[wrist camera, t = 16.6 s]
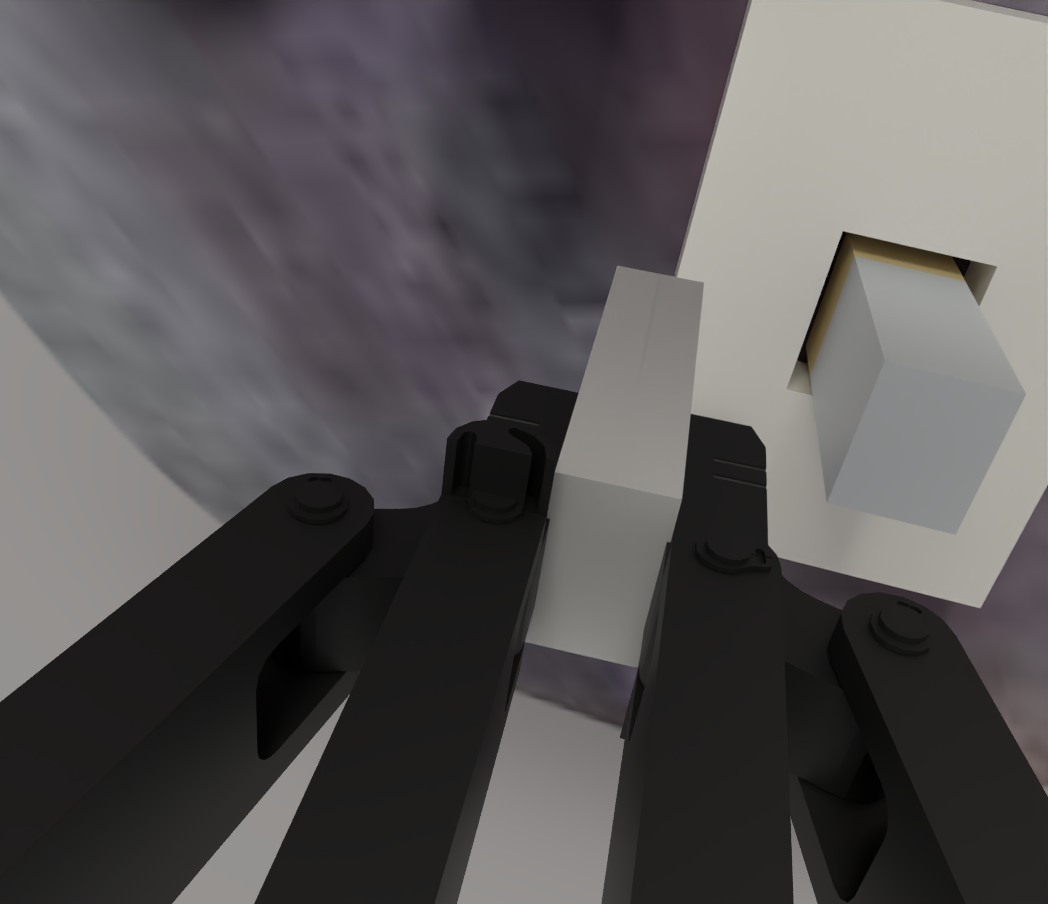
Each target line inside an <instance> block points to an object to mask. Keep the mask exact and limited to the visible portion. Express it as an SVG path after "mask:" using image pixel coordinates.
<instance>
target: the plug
mask: <svg viewBox="0 0 1048 904" xmlns="http://www.w3.org/2000/svg"><path fill="white" fill-rule="evenodd" d="M806 352H807V359H808V367H809V374H810V381H811V389H812V396H813V404H814V411H815V418H816V426H817V433H818V441H819V448H820V455H821V463H822V470H823V478H824V485H825V492H826V500H827V503H829V504H833V505H837V506H841V507H845V508H849V509H853V510H857V511H861V512H866V513H870V514H874V515H878V516H882V517H886V518H890V519H894V520H898V521H902V522H906V523H910V524H914V525H918V526H922V527H926V528H930V529H934V530H938V531H942V532H946V533H950V534H954V535H956V533H957V531H958V529H959V527H960V525H961V523H962V521H963V519H964V517H965V515H966V513H967V511H968V509H969V507H970V505H971V503H972V501H973V499H974V497H975V495H976V493H977V491H978V489H979V487H980V485H981V483H982V481H983V479H984V477H985V475H986V473H987V471H988V469H989V467H990V465H991V463H992V461H993V459H994V457H995V455H996V453H997V451H998V449H999V447H1000V445H1001V443H1002V442H1003V440H1004V438H1005V436H1006V434H1007V432H1008V430H1009V428H1010V426H1011V424H1012V422H1013V420H1014V418H1015V416H1016V414H1017V412H1018V410H1019V408H1020V406H1021V404H1022V402H1023V400H1024V398H1025V396H1026V393H1025V391H1024V389H1023V387H1022V385H1021V383H1020V382H1019V380H1018V378H1017V376H1016V374H1015V372H1014V370H1013V369H1012V367H1011V365H1010V363H1009V361H1008V359H1007V357H1006V356H1005V354H1004V352H1003V350H1002V348H1001V346H1000V345H999V343H998V341H997V339H996V337H995V335H994V333H993V332H992V330H991V328H990V326H989V324H988V322H987V320H986V319H985V317H984V315H983V313H982V311H981V309H980V307H979V306H978V304H977V302H976V300H975V298H974V296H973V294H972V293H971V291H970V289H969V287H968V285H967V283H966V281H965V280H964V278H963V276H962V274H961V272H960V270H959V269H958V267H957V265H956V263H955V261H954V259H953V257H952V256H949V255H945V254H941V253H936V252H932V251H928V250H923V249H919V248H915V247H910V246H906V245H901V244H897V243H893V242H888V241H884V240H880V239H875V238H871V237H867V236H862V235H858V234H853V233H849V232H846V234H845V237H844V240H843V243H842V245H841V248H840V251H839V254H838V257H837V259H836V262H835V265H834V268H833V271H832V273H831V276H830V279H829V282H828V285H827V287H826V290H825V293H824V296H823V299H822V301H821V304H820V307H819V310H818V312H817V315H816V318H815V321H814V324H813V326H812V329H811V332H810V335H809V338H808V340H807V343H806Z"/></svg>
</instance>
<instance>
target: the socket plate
mask: <svg viewBox="0 0 1048 904" xmlns="http://www.w3.org/2000/svg"><path fill="white" fill-rule="evenodd" d="M843 231H845V232H849V233H853V234H858V235H862V236H867V237H871V238H875V239H880V240H884V241H888V242H893V243H897V244H901V245H906V246H910V247H915V248H919V249H923V250H928V251H932V252H936V253H941V254H945V255H949V256H954V257H958V258H963V259H967V260H971V262H970V264H969V266H968V269H967V271H966V273H965V276H964V280H965V281H966V283H967V285H968V287H969V289H970V291H971V293H972V294H973V296H974V298H975V300H976V302H977V304H978V306H979V307H980V309H981V311H982V313H983V315H984V317H985V319H986V320H987V322H988V324H989V326H990V328H991V330H992V332H993V333H994V335H995V337H996V339H997V341H998V343H999V345H1000V346H1001V348H1002V350H1003V352H1004V354H1005V356H1006V357H1007V359H1008V361H1009V363H1010V365H1011V367H1012V369H1013V370H1014V372H1015V374H1016V376H1017V378H1018V380H1019V382H1020V383H1021V385H1022V387H1023V389H1024V391H1025V393H1026V396H1025V398H1024V400H1023V402H1022V404H1021V406H1020V408H1019V410H1018V412H1017V414H1016V416H1015V418H1014V420H1013V422H1012V424H1011V426H1010V428H1009V430H1008V432H1007V434H1006V436H1005V438H1004V440H1003V442H1002V443H1001V445H1000V447H999V449H998V451H997V453H996V455H995V457H994V459H993V461H992V463H991V465H990V467H989V469H988V471H987V473H986V475H985V477H984V479H983V481H982V483H981V485H980V487H979V489H978V491H977V493H976V495H975V497H974V499H973V501H972V503H971V505H970V507H969V509H968V511H967V513H966V515H965V517H964V519H963V521H962V523H961V525H960V527H959V529H958V531H957V533H956V535H954V534H950V533H946V532H942V531H938V530H934V529H930V528H926V527H922V526H918V525H914V524H910V523H906V522H902V521H898V520H894V519H890V518H886V517H882V516H878V515H874V514H870V513H866V512H861V511H857V510H853V509H849V508H845V507H841V506H837V505H833V504H829V503H827V500H826V492H825V485H824V478H823V470H822V463H821V455H820V448H819V441H818V433H817V426H816V418H815V411H814V404H813V396H812V389H811V381H810V374H809V367H808V363H805V362H801V361H797V358H798V356H799V353H800V350H801V347H802V344H803V342H804V339H805V336H806V333H807V330H808V328H809V325H810V322H811V319H812V316H813V314H814V311H815V308H816V305H817V302H818V299H819V297H820V294H821V291H822V288H823V285H824V283H825V280H826V277H827V274H828V271H829V269H830V266H831V263H832V260H833V257H834V255H835V252H836V249H837V246H838V243H839V240H840V238H841V235H842V232H843ZM674 277H678V278H683V279H688V280H693V281H699V282H704V289H703V299H702V308H701V318H700V328H699V338H698V347H697V357H696V367H695V377H694V387H693V396H692V406H691V414H694V415H699V416H704V417H709V418H714V419H718V420H723V421H728V422H733V423H738V424H742V425H747V426H752V428H753V429H754V431H755V432H756V434H757V435H758V437H759V438H760V440H761V441H762V443H763V444H764V445H765V447H766V473H767V486H766V489H767V514H768V545H769V546H770V548H771V549H772V550H773V551H774V552H775V553H776V554H777V557H779V558H783V559H787V560H791V561H795V562H799V563H803V564H807V565H811V566H815V567H819V568H823V569H826V570H830V571H834V572H838V573H842V574H846V575H850V576H854V577H858V578H862V579H866V580H870V581H874V582H878V583H882V584H886V585H890V586H894V587H898V588H902V589H906V590H910V591H914V592H918V593H922V594H926V595H930V596H933V597H937V598H941V599H945V600H949V601H953V602H957V603H961V604H965V605H969V606H973V607H977V608H981V606H982V605H983V603H984V601H985V599H986V597H987V595H988V593H989V592H990V590H991V588H992V586H993V584H994V582H995V581H996V579H997V577H998V575H999V573H1000V571H1001V570H1002V568H1003V566H1004V564H1005V562H1006V560H1007V559H1008V557H1009V555H1010V553H1011V551H1012V549H1013V548H1014V546H1015V544H1016V542H1017V540H1018V538H1019V537H1020V535H1021V533H1022V531H1023V529H1024V527H1025V526H1026V524H1027V522H1028V520H1029V518H1030V516H1031V515H1032V513H1033V511H1034V509H1035V507H1036V505H1037V504H1038V502H1039V500H1040V498H1041V496H1042V494H1043V493H1044V491H1045V489H1046V487H1047V485H1048V17H1047V16H1043V15H1038V14H1033V13H1029V12H1024V11H1019V10H1014V9H1010V8H1005V7H1000V6H995V5H991V4H986V3H981V2H977V1H972V0H748V4H747V8H746V11H745V15H744V19H743V23H742V26H741V30H740V34H739V37H738V41H737V45H736V49H735V52H734V56H733V60H732V63H731V67H730V71H729V74H728V78H727V82H726V86H725V89H724V93H723V97H722V100H721V104H720V108H719V112H718V115H717V119H716V123H715V126H714V130H713V134H712V137H711V141H710V145H709V149H708V152H707V156H706V160H705V163H704V167H703V171H702V175H701V178H700V182H699V186H698V189H697V193H696V197H695V200H694V204H693V208H692V212H691V215H690V219H689V223H688V226H687V230H686V234H685V238H684V241H683V245H682V249H681V252H680V256H679V260H678V263H677V267H676V271H675V275H674Z"/></svg>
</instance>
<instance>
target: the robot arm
mask: <svg viewBox="0 0 1048 904" xmlns="http://www.w3.org/2000/svg"><path fill="white" fill-rule="evenodd" d="M703 289H704V282H699V281H693V280H688V279H683V278H678V277H673V276H668V275H663V274H658V273H653V272H647V271H642V270H637V269H632V268H627V267H622V266H617V268H616V272H615V275H614V278H613V282H612V285H611V288H610V292H609V295H608V298H607V301H606V305H605V308H604V311H603V315H602V318H601V321H600V325H599V328H598V331H597V334H596V338H595V341H594V344H593V348H592V351H591V354H590V358H589V361H588V364H587V367H586V371H585V374H584V377H583V381H582V384H581V387H580V391H579V393H577V392H572V391H567V390H562V389H558V388H553V387H548V386H543V385H538V384H534V383H529V382H524V381H517V382H516V383H514V384H513V385H511V386H510V387H508V388H507V389H505V390H504V391H502V392H500V393H499V394H498V396H497V398H496V400H495V403H494V405H493V407H492V409H491V412H490V416H488V418H487V420H482V421H473V422H470V423H468V424H465V425H463V426H460V427H458V428H456V429H455V430H454V431H453V432H452V433H451V434H450V436H449V437H448V438H447V446H446V456H445V465H444V475H443V485H442V494H441V496H440V499H439V501H438V502H435V503H433V504H431V505H426V506H422V507H418V508H407V509H374V499H373V498H372V496H371V495H370V494H369V492H368V491H367V490H366V488H365V487H363V486H361V485H360V484H358V483H356V482H355V481H353V480H351V479H349V478H345V477H341V476H337V475H333V474H320V473H308V474H303V475H299V476H294V477H289V478H287V479H285V480H283V481H281V482H279V483H278V484H276V485H274V486H272V487H271V488H269V489H268V490H267V491H266V492H264V493H263V494H262V495H261V496H259V497H258V498H257V499H256V500H254V501H253V502H252V503H251V504H249V505H248V506H247V507H246V508H244V509H243V510H242V511H240V512H239V513H238V514H237V515H235V516H234V517H233V518H232V519H230V520H229V521H228V522H227V523H225V524H224V525H223V526H222V527H220V528H219V529H218V530H217V531H215V532H214V533H213V534H211V535H210V536H209V537H208V538H206V539H205V540H204V541H203V542H201V543H200V544H199V545H198V546H196V547H195V548H194V549H193V550H191V551H190V552H189V553H188V554H186V555H185V556H184V557H182V558H181V559H180V560H179V561H177V562H176V563H175V564H174V565H172V566H171V567H170V568H169V569H168V570H166V571H165V572H164V573H162V574H161V575H160V576H159V577H158V578H156V579H155V580H154V581H152V582H151V583H150V584H149V585H147V586H146V587H145V588H143V589H142V590H141V591H140V592H138V593H137V594H136V595H135V596H133V597H132V598H131V599H130V600H128V601H127V602H126V603H125V604H123V605H122V606H121V607H120V608H118V609H117V610H116V611H115V612H113V613H112V614H111V615H109V616H108V617H107V618H106V619H104V620H103V621H102V622H101V623H99V624H98V625H97V626H96V627H94V628H93V629H92V630H91V631H89V632H88V633H87V634H85V635H84V636H83V637H82V638H80V639H79V640H78V641H77V642H75V643H74V644H73V645H72V646H70V647H69V648H68V649H67V650H65V651H64V652H63V653H62V654H60V655H59V656H58V657H56V658H55V659H54V660H53V661H51V662H50V663H49V664H48V665H46V666H45V667H44V668H43V669H41V670H40V671H39V672H38V673H36V674H35V675H34V676H33V677H31V678H30V679H29V680H27V681H26V682H25V683H24V684H23V685H21V686H20V687H19V688H17V689H16V690H15V691H14V692H13V693H11V694H10V695H9V696H7V697H6V698H5V699H4V700H2V701H1V702H0V904H172V903H173V902H174V901H175V899H176V898H177V897H178V896H179V895H180V894H181V892H182V891H183V890H184V889H185V887H186V886H187V885H188V884H189V883H190V882H191V881H192V879H193V878H194V877H195V876H196V874H198V872H199V871H200V870H201V869H202V868H203V866H204V865H205V864H206V863H207V861H208V860H209V859H210V858H211V857H212V856H213V855H214V853H215V852H216V851H217V850H218V849H219V848H220V846H221V845H222V844H223V843H224V842H225V840H226V839H227V838H228V837H229V836H230V835H231V833H232V832H233V831H234V830H235V829H236V828H237V826H238V825H239V824H240V823H241V821H242V820H243V819H244V818H245V817H246V816H247V815H248V813H249V812H250V811H251V810H252V809H253V807H254V806H255V805H256V804H257V803H258V801H259V800H260V799H261V798H262V797H263V795H264V794H265V793H266V792H267V791H268V790H269V789H270V787H271V786H272V785H273V784H274V783H275V782H276V780H277V779H278V778H279V777H280V776H281V774H282V773H283V772H284V771H285V769H287V767H288V766H289V765H290V764H291V763H292V762H293V760H294V759H295V758H296V757H297V756H298V754H299V753H300V752H301V751H302V750H303V749H304V747H305V746H306V745H307V744H308V743H309V741H310V740H311V739H312V738H313V737H314V736H315V734H316V733H317V732H318V731H319V730H320V728H321V727H322V726H323V725H324V724H325V722H326V721H327V720H328V719H329V718H330V717H331V715H332V714H333V713H334V712H335V711H336V710H337V708H338V707H339V706H340V705H341V704H342V703H343V701H344V700H345V699H346V698H347V697H348V695H349V694H350V696H349V698H348V700H347V702H346V704H345V707H344V709H343V711H342V713H341V715H340V717H339V720H338V722H337V724H336V726H335V728H334V731H333V733H332V735H331V737H330V739H329V741H328V744H327V746H326V748H325V750H324V753H323V755H322V757H321V759H320V761H319V763H318V766H317V768H316V770H315V772H314V774H313V776H312V779H311V781H310V783H309V785H308V788H307V790H306V792H305V794H304V796H303V799H302V801H301V803H300V805H299V807H298V809H297V812H296V814H295V816H294V818H293V820H292V823H291V825H290V827H289V829H288V831H287V833H286V836H285V838H284V840H283V842H282V844H281V847H280V849H279V851H278V853H277V855H276V858H275V860H274V862H273V864H272V866H271V869H270V871H269V873H268V875H267V877H266V879H265V882H264V884H263V886H262V888H261V890H260V892H259V895H258V897H257V899H256V901H255V903H254V904H457V901H458V897H459V893H460V890H461V886H462V883H463V879H464V875H465V871H466V867H467V864H468V860H469V856H470V853H471V849H472V845H473V842H474V838H475V834H476V830H477V827H478V823H479V819H480V816H481V812H482V808H483V805H484V801H485V797H486V793H487V790H488V786H489V782H490V779H491V775H492V771H493V768H494V764H495V760H496V756H497V753H498V749H499V745H500V742H501V738H502V734H503V730H504V727H505V723H506V719H507V715H508V712H509V708H510V704H511V701H512V697H513V693H514V690H515V686H516V682H517V678H518V675H519V671H520V665H521V660H522V654H523V648H524V643H525V642H527V643H532V644H536V645H540V646H545V647H549V648H553V649H558V650H562V651H566V652H571V653H575V654H579V655H583V656H588V657H592V658H596V659H601V660H605V661H609V662H614V663H618V664H622V665H627V666H631V667H635V668H637V666H638V663H639V668H638V672H637V675H636V679H635V683H634V687H633V690H632V694H631V698H630V702H629V705H628V709H627V713H626V717H625V720H624V724H623V728H622V732H621V735H620V738H623V739H625V742H624V749H623V756H622V762H621V770H620V777H619V784H618V791H617V798H616V805H615V812H614V819H613V826H612V833H611V840H610V848H609V854H608V862H607V868H606V875H605V882H604V889H603V897H602V904H793V876H792V848H791V823H790V816H791V819H792V823H793V826H794V829H795V832H796V835H797V838H798V842H799V845H800V848H801V851H802V855H803V858H804V861H805V864H806V867H807V871H808V874H809V877H810V880H811V883H812V887H813V890H814V893H815V896H816V900H817V903H818V904H1048V796H1047V794H1046V793H1045V791H1044V789H1043V787H1042V786H1041V784H1040V782H1039V780H1038V779H1037V777H1036V775H1035V773H1034V772H1033V770H1032V768H1031V766H1030V765H1029V763H1028V761H1027V759H1026V758H1025V756H1024V754H1023V752H1022V751H1021V749H1020V747H1019V745H1018V744H1017V742H1016V740H1015V738H1014V737H1013V735H1012V733H1011V731H1010V730H1009V728H1008V726H1007V724H1006V723H1005V721H1004V719H1003V717H1002V716H1001V714H1000V712H999V710H998V709H997V707H996V705H995V703H994V702H993V700H992V698H991V696H990V694H989V693H988V691H987V689H986V687H985V686H984V684H983V682H982V680H981V679H980V677H979V675H978V673H977V672H976V670H975V668H974V666H973V665H972V663H971V661H970V659H969V658H968V656H967V654H966V652H965V651H964V649H963V647H962V645H961V644H960V642H959V640H958V638H957V637H956V635H955V634H954V633H953V632H952V630H951V629H950V628H949V627H948V625H947V624H946V623H945V622H944V621H943V620H942V619H941V618H940V617H938V616H937V615H935V614H934V613H933V612H931V611H930V610H928V609H927V608H926V607H924V606H922V605H920V604H917V603H915V602H913V601H911V600H908V599H906V598H904V597H900V596H895V595H890V594H885V593H868V594H860V595H858V596H856V597H854V598H852V599H850V600H848V601H847V602H846V604H845V606H844V608H843V610H840V609H838V608H835V607H833V606H831V605H829V604H826V603H824V602H822V601H820V600H817V599H815V598H814V597H812V596H810V595H808V594H806V593H804V592H802V591H800V590H799V589H798V588H796V587H795V586H794V585H792V584H791V583H790V582H788V581H787V580H786V579H785V578H784V577H783V576H782V573H781V566H780V563H779V560H778V557H777V554H776V553H775V552H774V551H773V550H772V549H771V548H770V546H769V545H768V514H767V489H766V486H767V473H766V447H765V445H764V444H763V443H762V441H761V440H760V438H759V437H758V435H757V434H756V432H755V431H754V429H753V428H752V426H747V425H742V424H738V423H733V422H728V421H723V420H718V419H714V418H709V417H704V416H699V415H694V414H691V406H692V396H693V387H694V377H695V367H696V357H697V347H698V338H699V328H700V318H701V308H702V299H703ZM639 659H640V662H639Z"/></svg>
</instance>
